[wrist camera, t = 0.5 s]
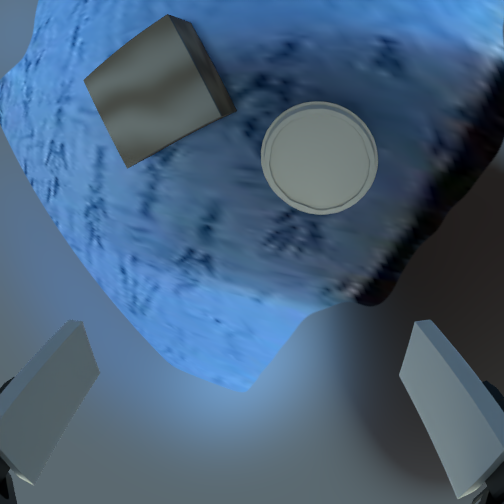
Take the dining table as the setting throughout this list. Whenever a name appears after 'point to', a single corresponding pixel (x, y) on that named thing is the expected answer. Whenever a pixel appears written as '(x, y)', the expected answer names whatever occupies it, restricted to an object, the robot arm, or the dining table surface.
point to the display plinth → (158, 90)
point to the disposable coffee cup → (319, 157)
